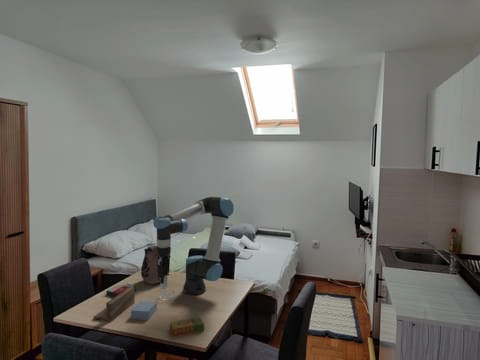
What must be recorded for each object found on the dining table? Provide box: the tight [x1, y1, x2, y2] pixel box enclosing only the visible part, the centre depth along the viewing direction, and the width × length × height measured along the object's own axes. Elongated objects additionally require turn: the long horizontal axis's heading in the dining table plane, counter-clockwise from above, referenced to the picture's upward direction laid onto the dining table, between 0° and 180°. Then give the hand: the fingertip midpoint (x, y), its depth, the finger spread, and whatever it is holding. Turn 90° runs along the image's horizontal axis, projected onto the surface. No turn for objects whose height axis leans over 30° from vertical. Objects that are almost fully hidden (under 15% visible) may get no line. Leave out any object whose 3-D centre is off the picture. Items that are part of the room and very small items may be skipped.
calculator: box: [106, 282, 137, 298], centre depth 216 cm, size 11×4×15 cm
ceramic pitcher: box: [140, 245, 171, 285], centre depth 237 cm, size 18×21×25 cm
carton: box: [169, 316, 205, 338], centre depth 169 cm, size 8×16×4 cm, turn 113°
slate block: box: [130, 300, 158, 321], centre depth 186 cm, size 10×12×5 cm
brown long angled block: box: [93, 287, 135, 323], centre depth 190 cm, size 11×24×10 cm, turn 168°
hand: (163, 287), depth 183 cm, fingers open, 2 cm apart
